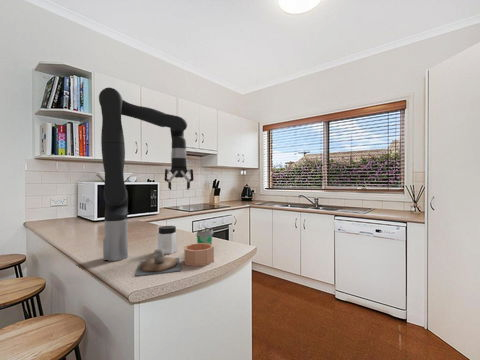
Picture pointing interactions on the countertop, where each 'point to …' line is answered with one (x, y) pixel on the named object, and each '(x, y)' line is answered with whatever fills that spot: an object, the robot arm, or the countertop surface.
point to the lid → (158, 262)
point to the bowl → (198, 254)
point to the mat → (142, 273)
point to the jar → (167, 239)
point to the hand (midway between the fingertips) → (179, 189)
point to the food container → (205, 236)
